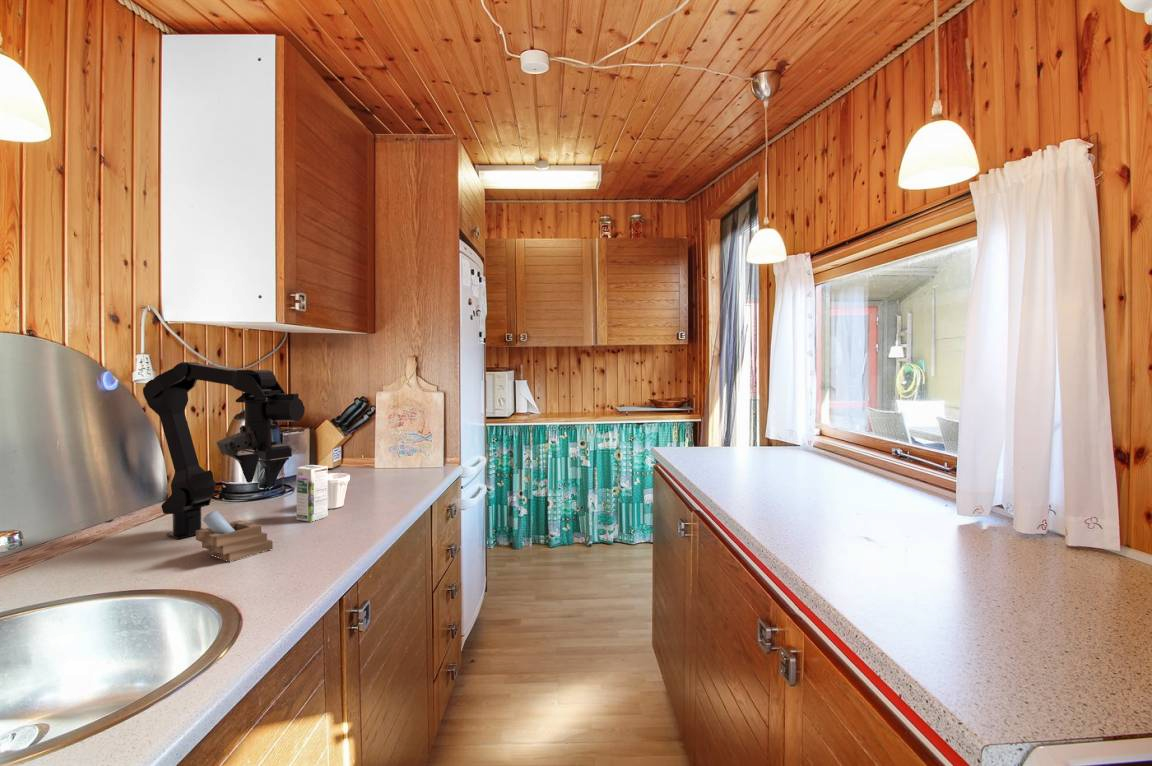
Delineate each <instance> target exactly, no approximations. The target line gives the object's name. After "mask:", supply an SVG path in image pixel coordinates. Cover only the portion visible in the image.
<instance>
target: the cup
mask: <svg viewBox="0 0 1152 766" xmlns="http://www.w3.org/2000/svg"><path fill="white" fill-rule="evenodd" d="M350 479H351V475H350V474H349V473H342V472H335V473H333V472H332V473H328V509H332V510H337V509H340V508H339V507H341V508H343V507H344V503H345V498H346V492H347V488H348V483H349V482H350ZM336 508H337V509H336Z"/></svg>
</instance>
